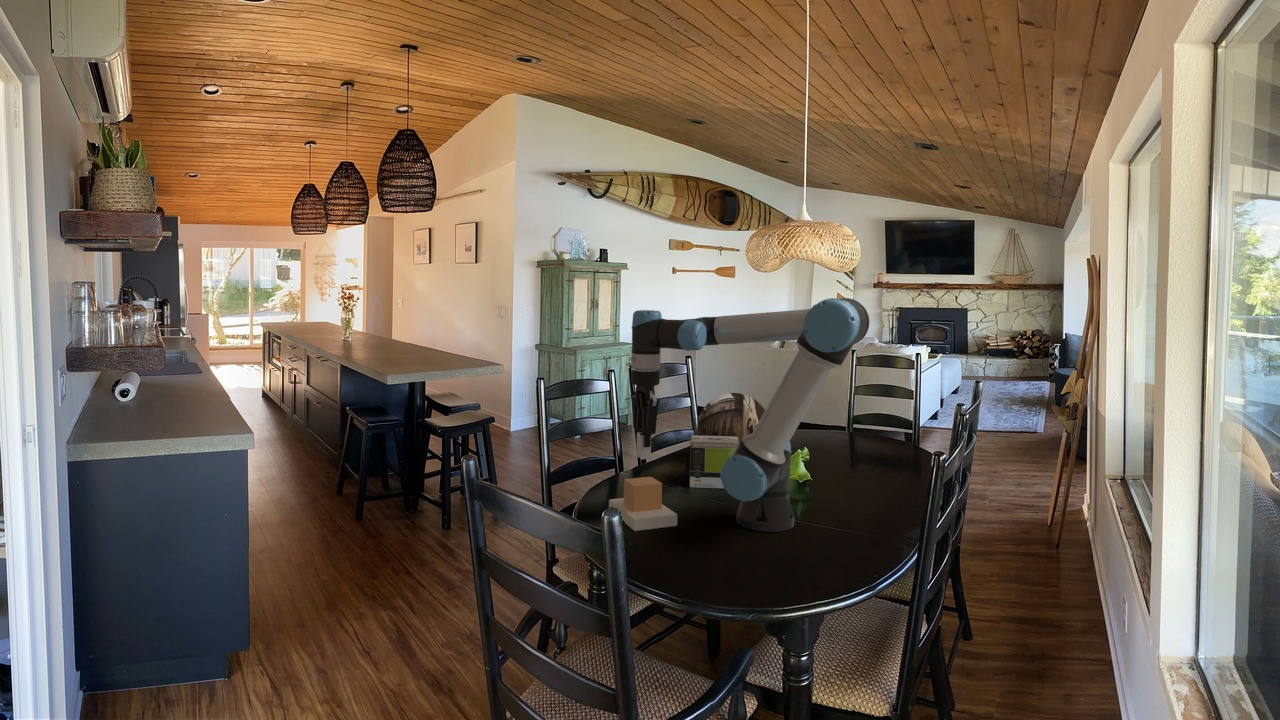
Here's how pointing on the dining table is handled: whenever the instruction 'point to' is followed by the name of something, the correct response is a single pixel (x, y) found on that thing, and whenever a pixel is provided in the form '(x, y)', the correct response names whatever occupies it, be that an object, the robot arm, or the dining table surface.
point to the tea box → (709, 459)
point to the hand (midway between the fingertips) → (643, 457)
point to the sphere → (730, 416)
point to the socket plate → (645, 516)
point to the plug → (642, 494)
